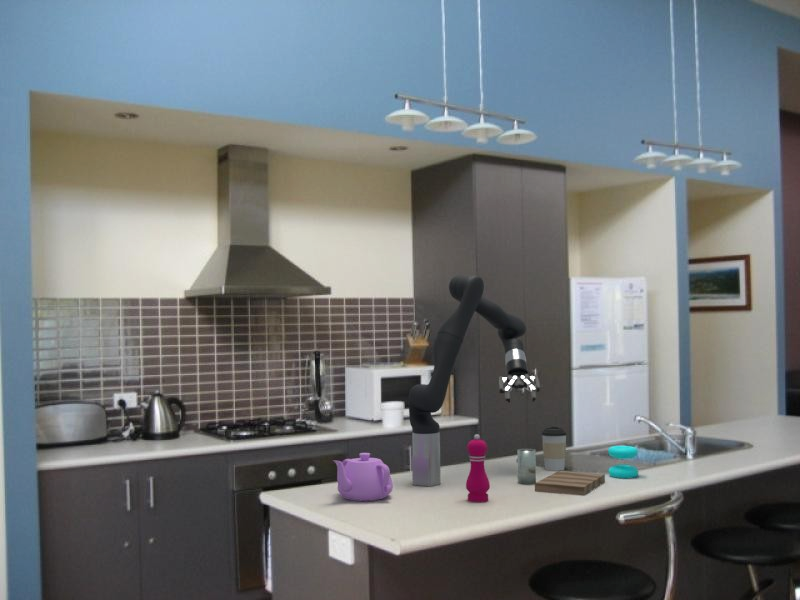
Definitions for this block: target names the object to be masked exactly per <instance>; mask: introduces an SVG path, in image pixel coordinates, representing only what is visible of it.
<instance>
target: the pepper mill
mask: <svg viewBox="0 0 800 600" xmlns="http://www.w3.org/2000/svg"><path fill="white" fill-rule="evenodd" d="M467 443H468V444H467V447H466V450H467V452H468V453H469V456H468V457H469V459H468V460H469V461H470V470H469V474H468V476H467V477H466V480H465V481H466V482H465V488H466V490H467V491H468V494H467V501H468V502H471V503H485V502H489V494H488V491H489V490H490V488H491V487H490V485H491V484H490V480H489V477H488V476H487V472H486V470H485V461H486V460H487V459H486V452H487V451H488V446H487V443H486V442H485V441H484V439H483V440H482V439H481V436H480V434H477V433H476V434H474V436H473V439H472V440H470V441H469V442H467Z"/></svg>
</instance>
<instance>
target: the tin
mask: <svg viewBox="0 0 800 600" xmlns="http://www.w3.org/2000/svg"><path fill="white" fill-rule="evenodd" d="M516 451H517V452H516V453H517V454H516V455H517V484H519V485H524V486H525V485H527V486H529V485H530V486H533V485H535V483H536V482H537V468H536V467H537V458H536V456H537V455H536V449H535V448H534V449H533V448H518V449H517V450H516Z"/></svg>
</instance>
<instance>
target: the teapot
mask: <svg viewBox="0 0 800 600" xmlns="http://www.w3.org/2000/svg"><path fill="white" fill-rule="evenodd" d="M358 455H359V457H357V458H346V459H343V460H342V461H340V460H336V459H335V460H334V459H332V462H334V463H335V464H336V469H337V473H336V475H337V476H336V480H337V492H338V493H339V494H340V495H341V497H343V498H344V499H345V500H348V501H349V500H350V501H359V502H360V501H361V502H367V503H368V502H370V501H377V500H381V499H385V498H387V497H389V495H390V494H391V493H392V491H393V488H394V485H393V478H392V477H391V472H390V467H389V466H388V465H387V464H385V463H384V462H383V460H381V458H376V457H371V453H369V452H360V453H359V454H358Z"/></svg>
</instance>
